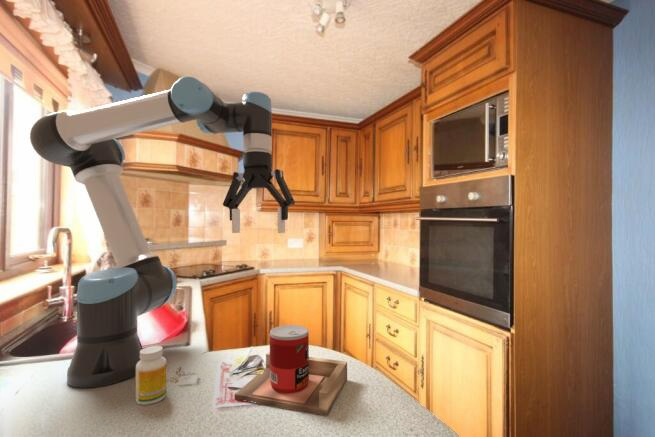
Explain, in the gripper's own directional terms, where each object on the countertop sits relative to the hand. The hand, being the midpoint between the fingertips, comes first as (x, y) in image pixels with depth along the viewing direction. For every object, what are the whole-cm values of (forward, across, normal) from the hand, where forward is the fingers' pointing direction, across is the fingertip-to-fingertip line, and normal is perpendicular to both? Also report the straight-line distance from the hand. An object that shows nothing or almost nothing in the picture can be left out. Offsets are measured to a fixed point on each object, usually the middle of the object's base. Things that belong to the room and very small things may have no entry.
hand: (258, 233), depth 87 cm
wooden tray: (+32, -16, +14) cm, 39 cm away
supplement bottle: (+32, +9, +26) cm, 42 cm away
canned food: (+31, -16, +15) cm, 38 cm away
